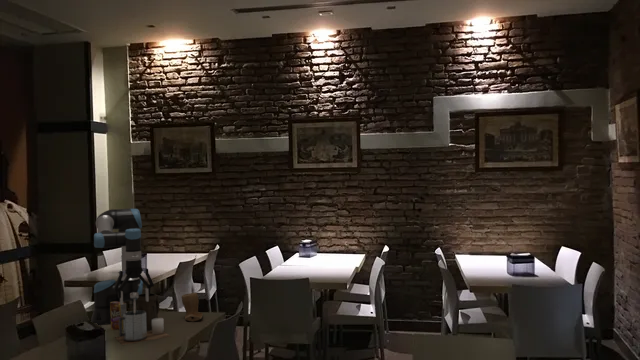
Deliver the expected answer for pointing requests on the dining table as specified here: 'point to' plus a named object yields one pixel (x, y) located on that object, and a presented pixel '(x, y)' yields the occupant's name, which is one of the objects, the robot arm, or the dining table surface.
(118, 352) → the dining table surface
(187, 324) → the dining table surface
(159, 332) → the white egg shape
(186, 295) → the brown boot
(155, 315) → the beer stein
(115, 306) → the candy box
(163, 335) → the serving board
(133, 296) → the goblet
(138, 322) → the grey octagonal container
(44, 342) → the dining table surface
